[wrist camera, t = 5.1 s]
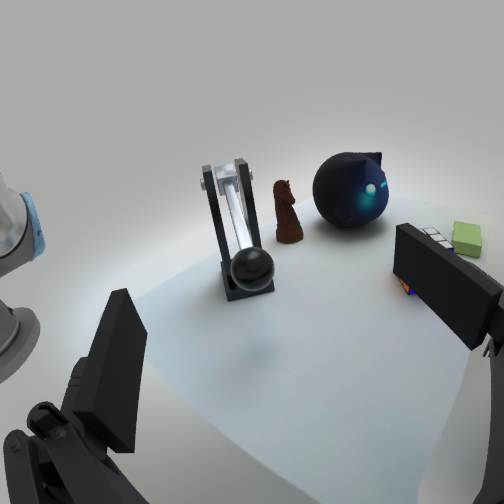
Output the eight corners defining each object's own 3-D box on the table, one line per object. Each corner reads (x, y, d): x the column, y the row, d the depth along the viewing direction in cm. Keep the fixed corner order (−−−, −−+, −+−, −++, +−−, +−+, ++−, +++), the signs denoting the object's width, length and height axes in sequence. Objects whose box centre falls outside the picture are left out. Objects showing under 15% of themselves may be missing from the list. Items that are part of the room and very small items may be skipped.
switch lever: (280, 293, 24) (279, 266, 22) (238, 303, 24) (231, 277, 21) (240, 182, 36) (237, 157, 33) (212, 188, 36) (207, 163, 33)
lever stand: (274, 290, 37) (255, 164, 29) (227, 301, 36) (197, 176, 29) (261, 261, 44) (243, 155, 37) (222, 270, 43) (198, 165, 36)
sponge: (479, 257, 33) (481, 246, 32) (450, 251, 36) (452, 240, 36) (478, 236, 39) (480, 225, 38) (453, 231, 42) (454, 220, 41)
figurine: (369, 248, 42) (368, 164, 36) (298, 232, 51) (289, 159, 45) (398, 215, 50) (398, 149, 45) (338, 204, 59) (334, 145, 54)
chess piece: (288, 246, 47) (280, 185, 42) (269, 237, 51) (260, 181, 46) (309, 236, 49) (303, 178, 44) (290, 228, 52) (283, 174, 48)
